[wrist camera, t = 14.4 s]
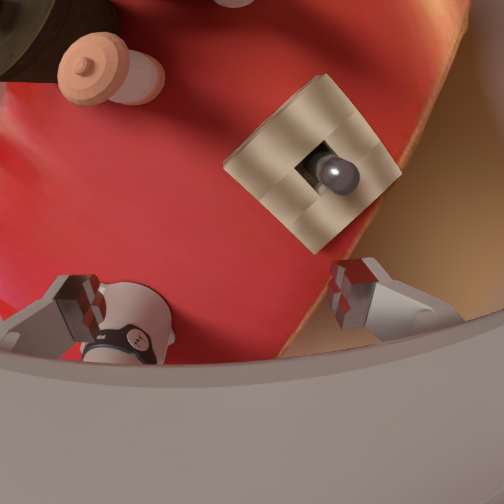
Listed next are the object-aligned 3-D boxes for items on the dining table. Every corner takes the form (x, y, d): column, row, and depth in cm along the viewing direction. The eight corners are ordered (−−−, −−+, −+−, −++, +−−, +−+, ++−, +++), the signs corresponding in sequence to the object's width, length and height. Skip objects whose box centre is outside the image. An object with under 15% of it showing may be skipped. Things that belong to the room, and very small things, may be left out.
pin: (317, 181, 41) (343, 202, 32) (298, 163, 40) (320, 179, 31) (335, 161, 40) (366, 177, 31) (316, 143, 39) (344, 153, 30)
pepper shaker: (172, 61, 32) (134, 27, 15) (156, 109, 35) (105, 114, 18) (124, 52, 30) (58, 23, 14) (109, 100, 33) (34, 104, 17)
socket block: (305, 239, 47) (314, 254, 43) (223, 161, 40) (223, 168, 35) (385, 165, 42) (402, 173, 38) (314, 76, 35) (326, 73, 31)
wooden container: (41, 11, 23) (-47, -15, 4) (124, -14, 25) (60, -79, 6) (34, 92, 30) (-69, 106, 11) (116, 73, 32) (26, 56, 12)
